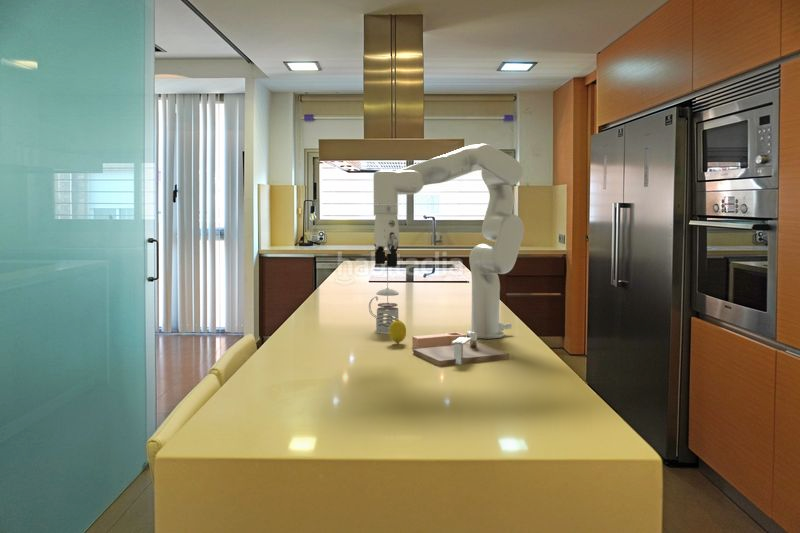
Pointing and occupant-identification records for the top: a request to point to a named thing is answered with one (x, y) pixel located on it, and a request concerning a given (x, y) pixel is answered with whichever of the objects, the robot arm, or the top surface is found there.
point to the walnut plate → (470, 355)
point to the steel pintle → (473, 340)
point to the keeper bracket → (459, 349)
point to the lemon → (397, 331)
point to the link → (435, 340)
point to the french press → (385, 310)
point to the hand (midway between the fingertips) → (385, 265)
